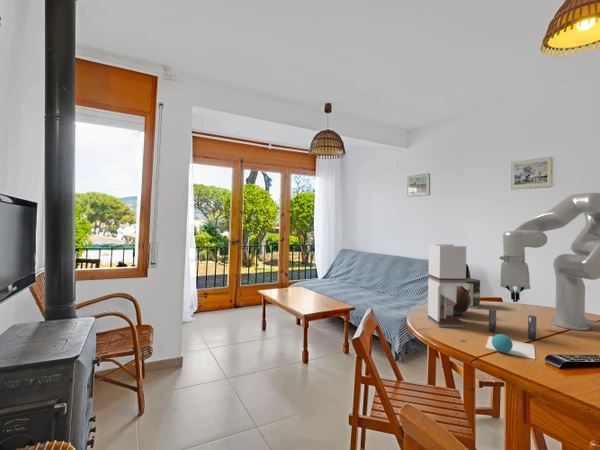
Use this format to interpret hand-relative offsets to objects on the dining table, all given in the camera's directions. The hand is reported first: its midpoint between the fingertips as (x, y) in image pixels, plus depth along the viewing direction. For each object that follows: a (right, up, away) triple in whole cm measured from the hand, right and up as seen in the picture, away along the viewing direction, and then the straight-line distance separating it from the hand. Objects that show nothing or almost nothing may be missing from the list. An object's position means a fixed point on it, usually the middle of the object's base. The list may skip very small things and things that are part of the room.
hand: (515, 301), depth 129 cm
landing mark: (-18, -11, -21) cm, 30 cm away
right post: (-4, -11, -14) cm, 18 cm away
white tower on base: (-29, -11, +3) cm, 31 cm away
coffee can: (-2, -11, +32) cm, 34 cm away
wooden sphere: (-18, -11, +17) cm, 27 cm away
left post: (-14, -11, -6) cm, 19 cm away
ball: (-23, -8, -26) cm, 36 cm away
